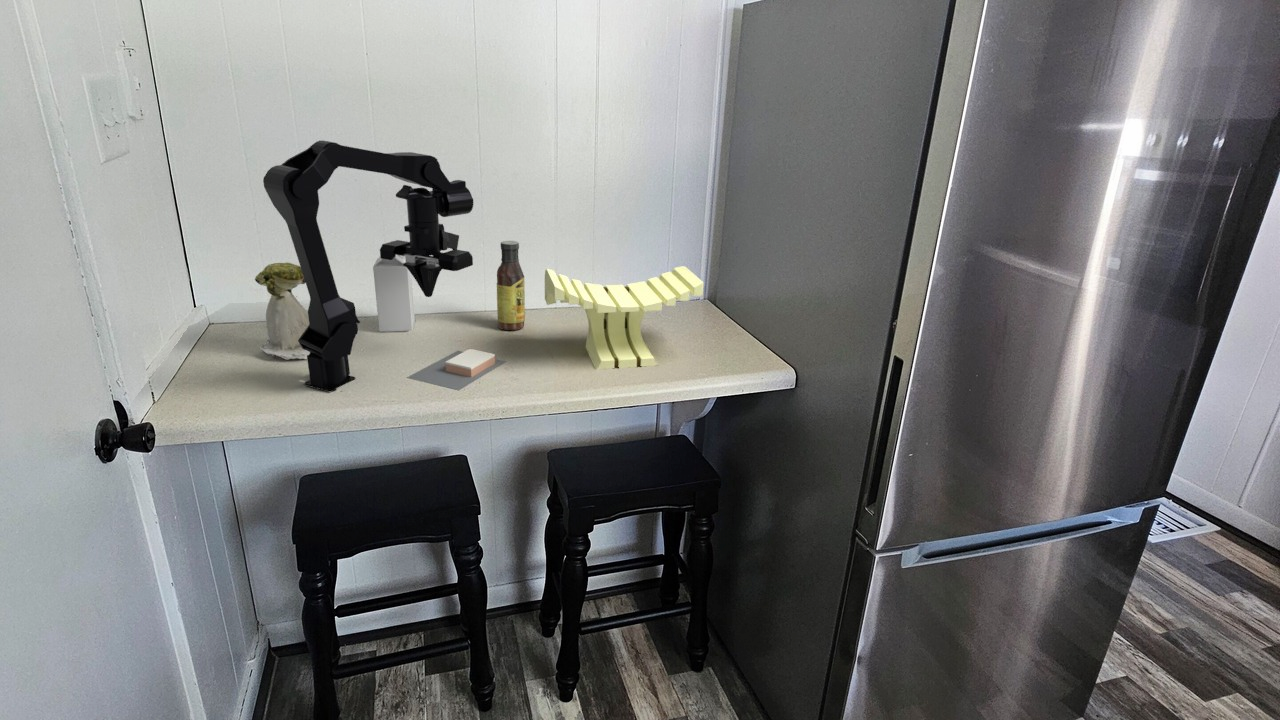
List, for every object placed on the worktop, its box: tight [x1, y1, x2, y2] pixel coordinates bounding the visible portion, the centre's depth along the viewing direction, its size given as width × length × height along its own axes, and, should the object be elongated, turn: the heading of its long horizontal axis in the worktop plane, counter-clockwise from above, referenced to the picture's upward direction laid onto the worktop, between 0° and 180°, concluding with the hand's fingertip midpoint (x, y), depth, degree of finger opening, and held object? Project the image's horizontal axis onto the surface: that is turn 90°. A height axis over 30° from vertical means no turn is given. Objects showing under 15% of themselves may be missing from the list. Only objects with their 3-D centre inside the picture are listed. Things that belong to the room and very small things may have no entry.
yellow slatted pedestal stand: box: [544, 265, 705, 370], centre depth 150 cm, size 30×16×18 cm, turn 104°
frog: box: [254, 262, 310, 360], centre depth 143 cm, size 12×13×18 cm
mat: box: [406, 350, 507, 391], centre depth 141 cm, size 16×12×1 cm
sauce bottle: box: [496, 240, 526, 331], centre depth 162 cm, size 7×6×20 cm
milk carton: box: [372, 255, 416, 333], centre depth 159 cm, size 7×7×19 cm
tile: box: [445, 348, 496, 377], centre depth 141 cm, size 8×2×6 cm
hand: (428, 296), depth 145 cm, fingers closed
